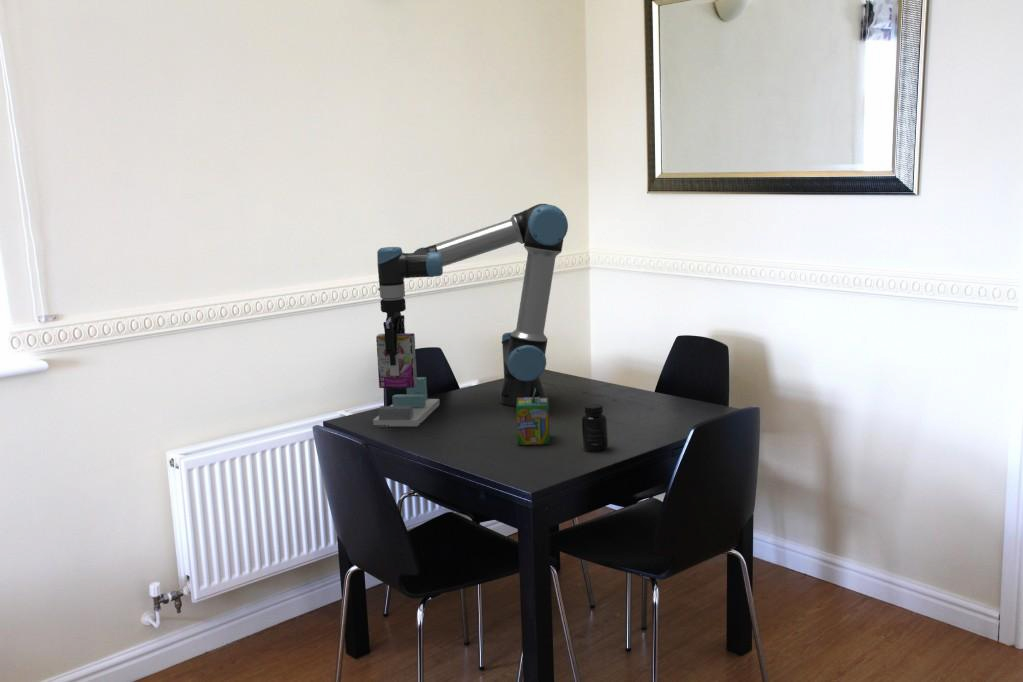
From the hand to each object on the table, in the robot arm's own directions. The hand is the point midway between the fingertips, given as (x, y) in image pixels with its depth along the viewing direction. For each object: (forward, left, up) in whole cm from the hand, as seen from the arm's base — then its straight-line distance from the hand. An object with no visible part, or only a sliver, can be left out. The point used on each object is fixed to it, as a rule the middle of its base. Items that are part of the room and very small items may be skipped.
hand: (397, 373), depth 286 cm
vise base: (0, -6, -15) cm, 16 cm away
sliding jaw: (0, -13, -13) cm, 18 cm away
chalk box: (-45, +20, -15) cm, 52 cm away
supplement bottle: (-63, +27, -15) cm, 70 cm away
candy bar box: (0, 0, -4) cm, 4 cm away
